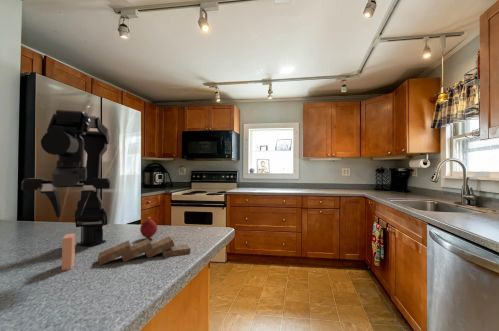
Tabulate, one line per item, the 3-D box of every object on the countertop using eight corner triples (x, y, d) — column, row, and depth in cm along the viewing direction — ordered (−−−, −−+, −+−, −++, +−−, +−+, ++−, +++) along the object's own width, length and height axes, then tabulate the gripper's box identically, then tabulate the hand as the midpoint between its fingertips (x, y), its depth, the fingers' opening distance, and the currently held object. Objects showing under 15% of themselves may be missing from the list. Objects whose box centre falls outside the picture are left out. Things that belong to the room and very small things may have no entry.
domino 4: (163, 251, 75) (190, 248, 79) (160, 247, 80) (186, 244, 83) (163, 258, 75) (190, 254, 79) (160, 253, 80) (186, 250, 83)
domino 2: (121, 255, 70) (150, 242, 74) (120, 250, 74) (148, 238, 78) (123, 262, 70) (152, 248, 74) (122, 257, 75) (150, 244, 78)
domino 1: (97, 258, 68) (128, 244, 71) (98, 253, 72) (128, 240, 75) (100, 265, 68) (131, 251, 71) (101, 259, 72) (131, 246, 76)
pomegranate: (151, 241, 92) (151, 218, 92) (136, 240, 93) (137, 218, 93) (159, 237, 98) (160, 216, 98) (146, 236, 99) (146, 215, 99)
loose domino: (61, 270, 64) (62, 238, 65) (65, 264, 69) (66, 234, 69) (71, 269, 65) (72, 237, 65) (74, 262, 70) (75, 233, 70)
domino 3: (145, 252, 73) (172, 239, 77) (142, 247, 77) (168, 236, 82) (147, 258, 73) (174, 245, 77) (144, 253, 78) (170, 242, 82)
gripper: (12, 154, 57) (10, 225, 56) (109, 157, 65) (107, 219, 64) (30, 157, 67) (28, 217, 66) (111, 159, 75) (110, 212, 74)
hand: (69, 216), depth 67 cm, fingers open, 4 cm apart
